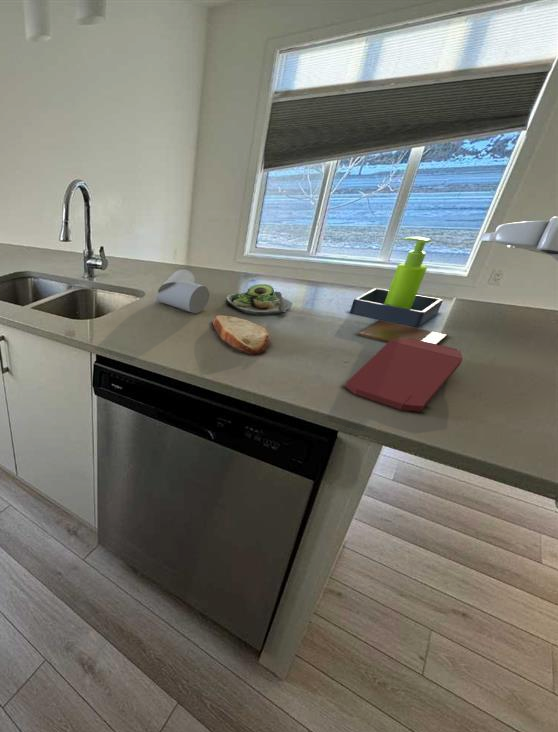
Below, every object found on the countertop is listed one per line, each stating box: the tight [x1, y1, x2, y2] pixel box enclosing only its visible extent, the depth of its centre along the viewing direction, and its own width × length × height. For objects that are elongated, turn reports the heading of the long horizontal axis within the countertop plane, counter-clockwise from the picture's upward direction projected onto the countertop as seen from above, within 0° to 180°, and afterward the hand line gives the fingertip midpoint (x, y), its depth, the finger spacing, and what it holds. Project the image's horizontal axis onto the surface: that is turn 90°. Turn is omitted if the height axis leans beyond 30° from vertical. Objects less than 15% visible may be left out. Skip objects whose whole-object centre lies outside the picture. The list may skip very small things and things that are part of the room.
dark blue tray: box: [349, 287, 444, 328], centre depth 110 cm, size 16×14×4 cm
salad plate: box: [225, 283, 294, 316], centre depth 122 cm, size 19×18×5 cm
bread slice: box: [212, 314, 272, 355], centre depth 105 cm, size 18×18×4 cm
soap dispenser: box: [384, 236, 432, 309], centre depth 106 cm, size 6×7×20 cm
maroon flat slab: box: [345, 338, 463, 413], centre depth 82 cm, size 12×5×25 cm
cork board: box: [357, 319, 448, 345], centre depth 99 cm, size 14×12×1 cm
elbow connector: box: [155, 269, 210, 314], centre depth 130 cm, size 18×11×20 cm
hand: (496, 240), depth 95 cm, fingers open, 8 cm apart
